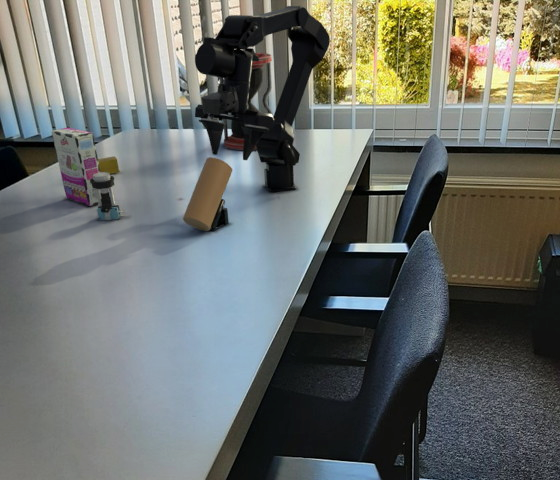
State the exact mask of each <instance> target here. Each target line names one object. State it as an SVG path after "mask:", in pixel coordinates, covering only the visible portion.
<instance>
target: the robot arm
mask: <svg viewBox="0 0 560 480" xmlns="http://www.w3.org/2000/svg"><path fill="white" fill-rule="evenodd" d="M282 31H286V35H287V38H288V40H290V42H291V46H290V51H291V57H292V62H291V66H290V68H289V71H288V74H287V76H286V79H285V82H284V85H283V88H282V91H281V93H280V96H279V99H278V102H277V104H276V108H275V110H274V113H273V117H272V114H269V113H268V112H261V111H260V112H256V111H251V109H247V107H248V98H249V94H253V89H250V78H251V68H252V61H256V62H258V61H259V58H258V56H257V55H256V54H255V53H256V51H255V49H254V48H253V47H256V46H257V45H259V44H260V43H262V42H263V41H264V40H265V38H266V37H267V36H269V35H273V34H276V33H280V32H282ZM330 42H331V38H330V35H329V32H328V31H327V29H326V28H325V27H324V25H323V24H322V22H321V21H319V20H318V19H317V18H315V17H314V16H313V15H312V14H310V13H309V11H308V9H307V8H306V7H305V6H302V5H287V6H285V7H283V8H280V9H276V10H272V11H269V12H265V13H261V14H257V15H247V14H246V15H245V14H244V15H241V14H240V15H239V14H230V15H227V16H226V17H225V19H224V24H223V25H222V26H221V28H220V30H219V31H218V33H217V34H216V36H215V37H210V36H209V37H208V36H205V37H203V43H202V44H201V45H199V47H198V48H197V49H196V53H195V54H194V64H195V67H196V70H197V71H198V72H199V73H200V74H202V75H204V76H205V75H206V76H211V77H216V78H219V79H220V78H223V79H224V81H223V84H220V83H219V85H218V86H217V91H215V92H211V93H209V94H206V95H203V96H201V97H200V99H201V104H197V106H196V107H195V108H194V118H198V122H199V123H201V124H202V125H203V127H204V128H205V129H206V132H207V133H206V134H207V136H208V140H209V145H210V149H211V153H212V155H214V156H217V155H218V152H219V149H220V146H221V141H222V136H223V134H224V125H225V123H223V119H227V121H232V120H235V121H242V122H244V123H245V124H248V126H241V127H242V129H243V132H244V145H243V150H242V160H243V161H248V159H249V158H250V157H251V154H252V153H253V151H254V150H253V149H254V147H255V146H256V148H257V150H256V151H257V155H258V158H259V161H260V163H262V164H263V163H265V165H266V166H265V168H264V169H263V170H264V171H263V172H264V185H265V187H266V188H267V190H269V191H270V193H274V192H275V193H276V192H283V191H284V192H285V191H291V190H293V191H294V190H296V189H297V187H296V186H295V180H294V179H295V177H294V166H296V165H297V164H298V163H300V156H301V154H300V152H299V151H298V150H297V149H296V147H295V146H294V141H295V136H294V130H293V124H294V121H295V119H296V116H297V114H298V110H299V108H300V106H301V102H302V99H303V96H304V93H305V91H306V88H307V85H308V83H309V79H310V77H311V74H312V71H313V70H314V68H315V67H317V66H318V65H319V64H320V63H321V62H322V60H323V59H324V58H325V56H326V54H327V51H328V50H329V47H330ZM236 114H239V116H236ZM237 117H238V118H237ZM220 121H221V122H220Z"/></svg>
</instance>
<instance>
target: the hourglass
mask: <svg viewBox="0 0 560 480" xmlns="http://www.w3.org/2000/svg"><path fill="white" fill-rule="evenodd" d="M255 54H256V55H257V56H258V58H259V61H258V62H256V61H252V68H251V78H250V89H253V94H249V98H248V107H247V109H251V111H256V112H261V111H260V110H259V109H258V108H257V107H256V106H255V105H254V104H253V103H252V100H253V98H254V97H256V95H257V93H258V92H259V90H260V89H261V87H262V85H263V83H264V69H263V67H264V66H265V65H266V77H267V78H266V79H267V88H266V91H265V93H264V94H263V97H262V105H263V107H264V109H265V110H266V111H267V113H269V114H272V117H273V116H274V113H273V111H272V109H271V107H270V106H269V104H268V97H269V95H270V93H271V91H272V87H273V86H272V84H273V83H272V60H273V59H272V54H271V53H266V52H255ZM223 81H224V78H219V84H223ZM236 116H239V114H236ZM237 118H238V117H237ZM230 121H231V122H230V124H231V125H230V127H231V128H230V129H231V135H229V130H228V119H223V120H222V123H225V125H224V129H223V137H224V139H223V145H224V147H225V148H227V149H228V150H234V151H235V150H236V151H243V145H244V132H243V129H242V127H241V126H248V124H245V123H244V122H242V121H235V120H230ZM253 151H257V148H256V146H255V147H254V149H253Z"/></svg>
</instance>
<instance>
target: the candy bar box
mask: <svg viewBox="0 0 560 480" xmlns="http://www.w3.org/2000/svg"><path fill="white" fill-rule="evenodd" d="M51 136H52V140H53V144H54V149H55V154H56V159H57V162H58V167H59V171H60V175H61V176H60V177H61V181H62V184H63V190H64V192H65V198H66V199H67V200H70V201H73V202H76V203H79V204H82V205H85V206H88V207H92V206H96V205H98V204H99V202H98V198H97V193H96V188H93V187H92V183H90V179H92V178H93V175H94V174H96V173H100V168H99V162H98V159H99V158H98V152H97V147H96V142H95V137H94V136H95V135H94V132H90V131H86V130H82V129H78V128H77V129H76V128H73V127H64V128H59V129H54V130H51ZM100 194H101V191H100Z"/></svg>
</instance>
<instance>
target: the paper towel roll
mask: <svg viewBox="0 0 560 480" xmlns="http://www.w3.org/2000/svg"><path fill="white" fill-rule="evenodd" d="M232 173H233V168H232V167H231V165H230V164H228V162H226V161H224V160H222V159H220V158H218V157H212V156H210V157H207V158H206V159H205V161H204V164H203V166H202V169H201V171H200V174H199V175H198V178H197V181H196V184H195V186H194V189H193V191H192V194H191V197H190V199H189V201H188V204H187V206H186V209H185V212H184V214H183V217H182V220H183V222H184V223H186V225H188V226H190V227H192V228H194V229H196V230H200V231H203V232H208V231H211V225H212V222H213V219H214V217H215V214H216V212H217V209H218V207H219V204H220V201H221V199H223V196H224V195H225V191H226V188H227V186H228V183H229V180H230V178H231V176H232Z"/></svg>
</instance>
